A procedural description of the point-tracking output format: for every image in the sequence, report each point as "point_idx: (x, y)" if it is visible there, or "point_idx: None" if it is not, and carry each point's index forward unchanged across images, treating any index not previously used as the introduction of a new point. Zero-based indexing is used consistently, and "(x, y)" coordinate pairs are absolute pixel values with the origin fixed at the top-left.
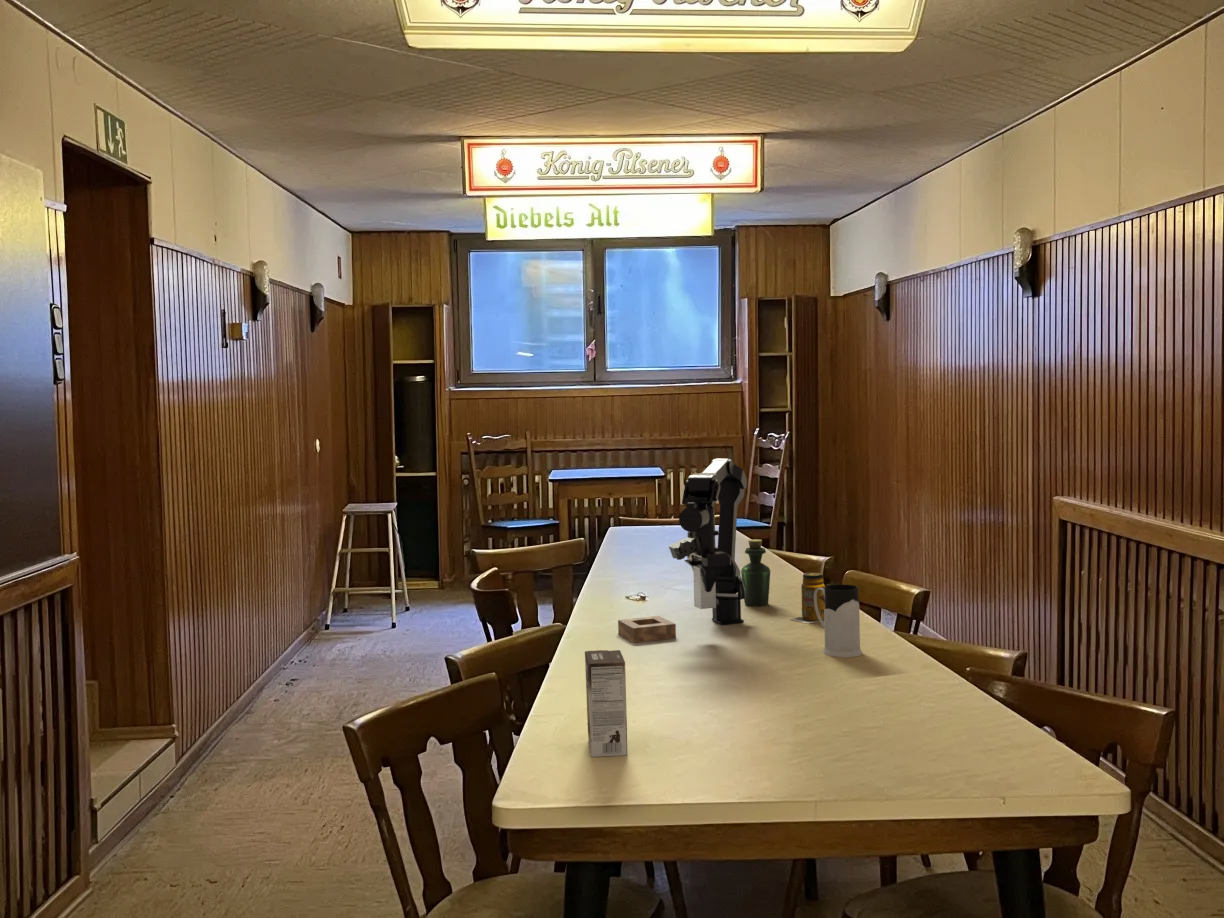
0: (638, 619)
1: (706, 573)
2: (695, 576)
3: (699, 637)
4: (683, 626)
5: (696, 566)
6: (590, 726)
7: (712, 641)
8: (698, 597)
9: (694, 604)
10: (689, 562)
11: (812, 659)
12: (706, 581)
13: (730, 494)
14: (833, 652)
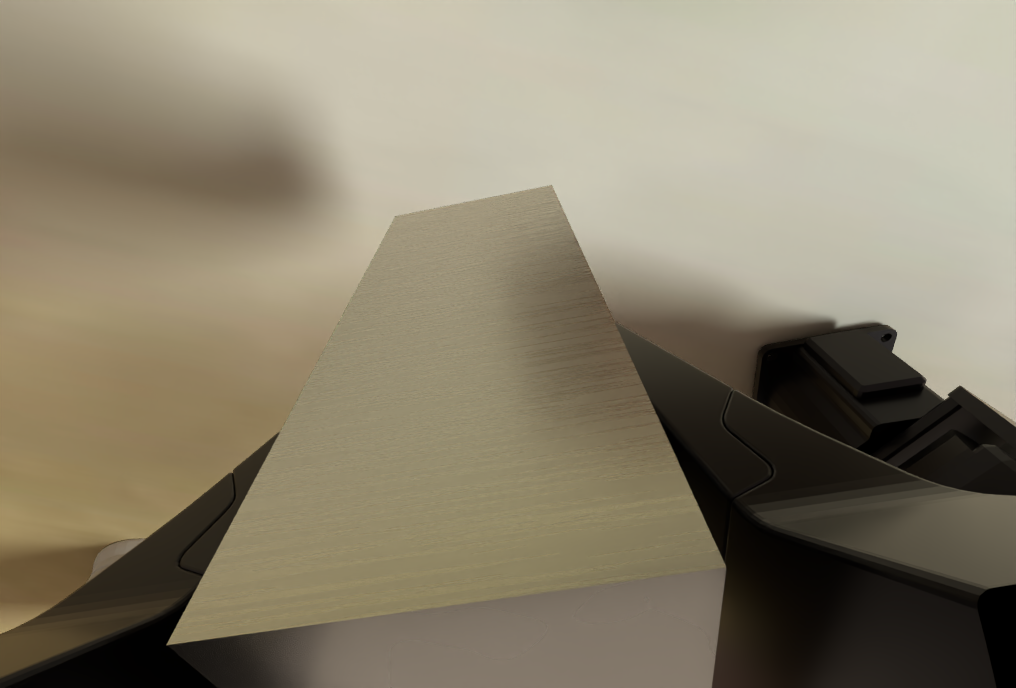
0: None
1: (108, 589)
2: (525, 375)
3: (521, 163)
4: (863, 135)
5: (520, 613)
6: None
7: (398, 213)
8: (436, 243)
9: (547, 191)
10: (965, 624)
11: (38, 497)
12: (264, 452)
13: None
14: (98, 563)
